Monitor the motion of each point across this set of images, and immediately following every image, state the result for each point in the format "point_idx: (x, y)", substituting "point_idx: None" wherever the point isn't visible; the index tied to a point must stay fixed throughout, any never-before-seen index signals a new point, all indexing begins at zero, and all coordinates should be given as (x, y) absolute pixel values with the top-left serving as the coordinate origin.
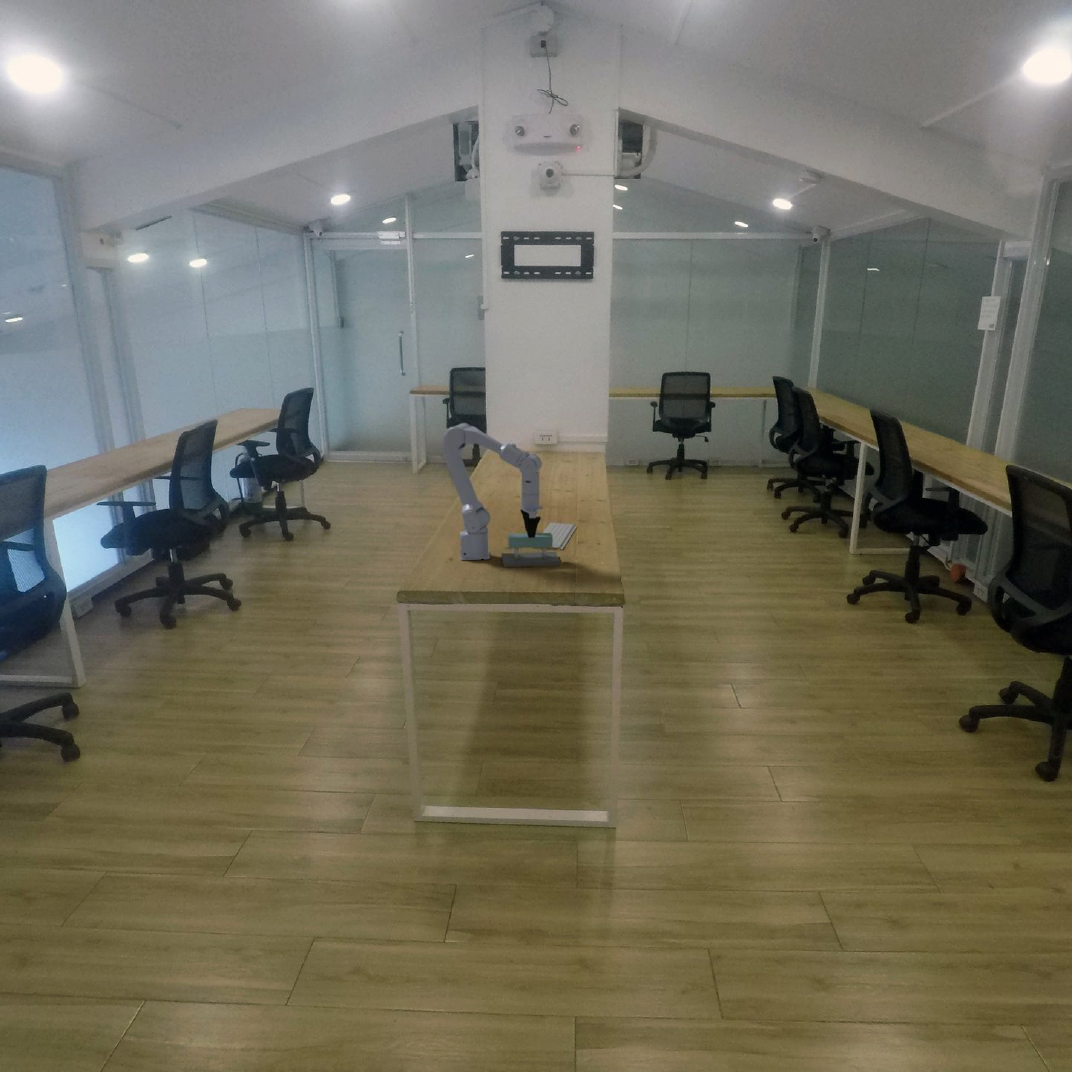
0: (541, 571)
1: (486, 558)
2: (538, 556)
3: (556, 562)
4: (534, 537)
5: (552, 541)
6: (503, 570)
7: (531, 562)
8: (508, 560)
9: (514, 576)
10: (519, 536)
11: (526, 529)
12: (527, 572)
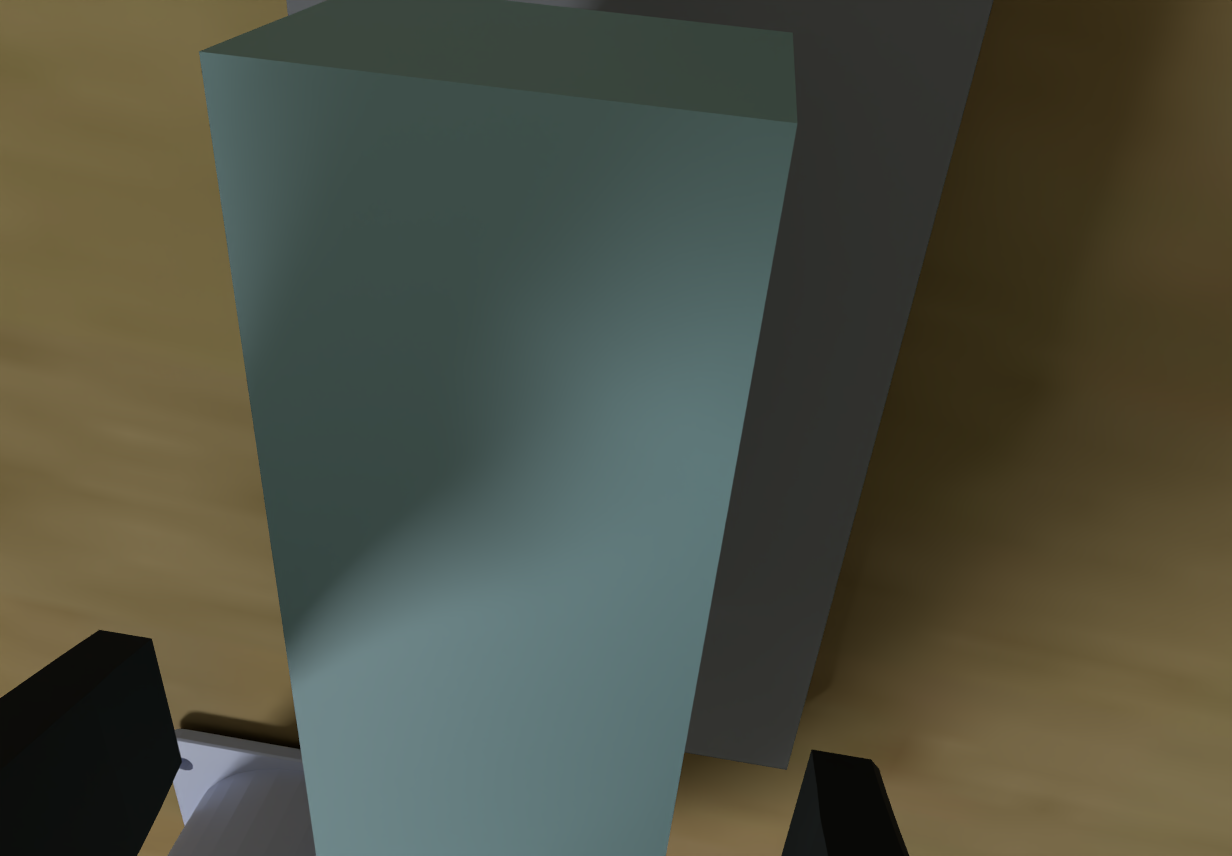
0: (1199, 300)
1: None
2: None
3: None
4: (871, 764)
5: (789, 73)
6: (905, 744)
7: (875, 435)
8: None
9: (1219, 698)
10: None
11: (156, 793)
12: (1134, 514)
